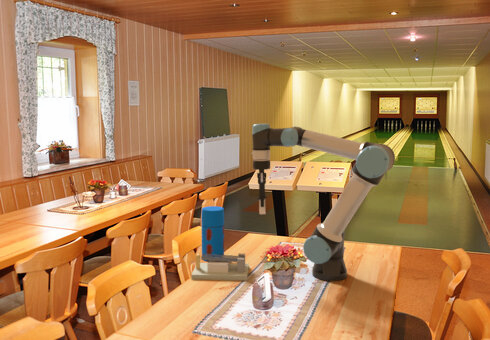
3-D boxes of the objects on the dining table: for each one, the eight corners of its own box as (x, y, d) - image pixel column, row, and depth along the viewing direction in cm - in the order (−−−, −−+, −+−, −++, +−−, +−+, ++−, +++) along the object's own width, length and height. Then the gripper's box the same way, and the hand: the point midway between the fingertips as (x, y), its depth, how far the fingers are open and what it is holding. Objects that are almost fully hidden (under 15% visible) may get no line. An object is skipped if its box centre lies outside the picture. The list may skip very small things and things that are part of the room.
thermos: (198, 261, 232) (198, 210, 229) (205, 254, 243) (205, 205, 239) (220, 263, 230) (220, 211, 226) (226, 256, 240) (226, 206, 237)
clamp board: (248, 267, 223) (248, 250, 222) (247, 280, 208) (247, 261, 207) (197, 266, 225) (196, 249, 224) (191, 279, 209) (191, 260, 208)
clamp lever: (243, 259, 217) (243, 255, 217) (243, 263, 213) (243, 258, 212) (202, 257, 218) (202, 253, 218) (201, 260, 214) (201, 256, 213)
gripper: (253, 158, 215) (254, 210, 218) (252, 161, 202) (253, 217, 205) (270, 158, 215) (270, 210, 218) (270, 161, 202) (271, 217, 205)
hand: (262, 213), depth 211 cm, fingers closed
